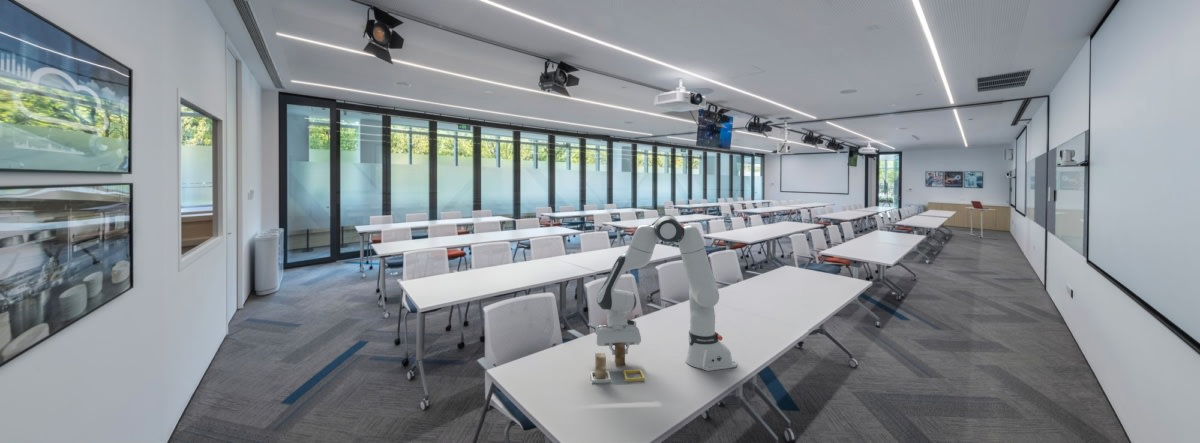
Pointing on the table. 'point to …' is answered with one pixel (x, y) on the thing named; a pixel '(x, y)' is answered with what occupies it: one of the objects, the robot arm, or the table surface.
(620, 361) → the walnut pillar
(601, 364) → the oak pillar
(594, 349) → the table surface
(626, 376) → the base plate
